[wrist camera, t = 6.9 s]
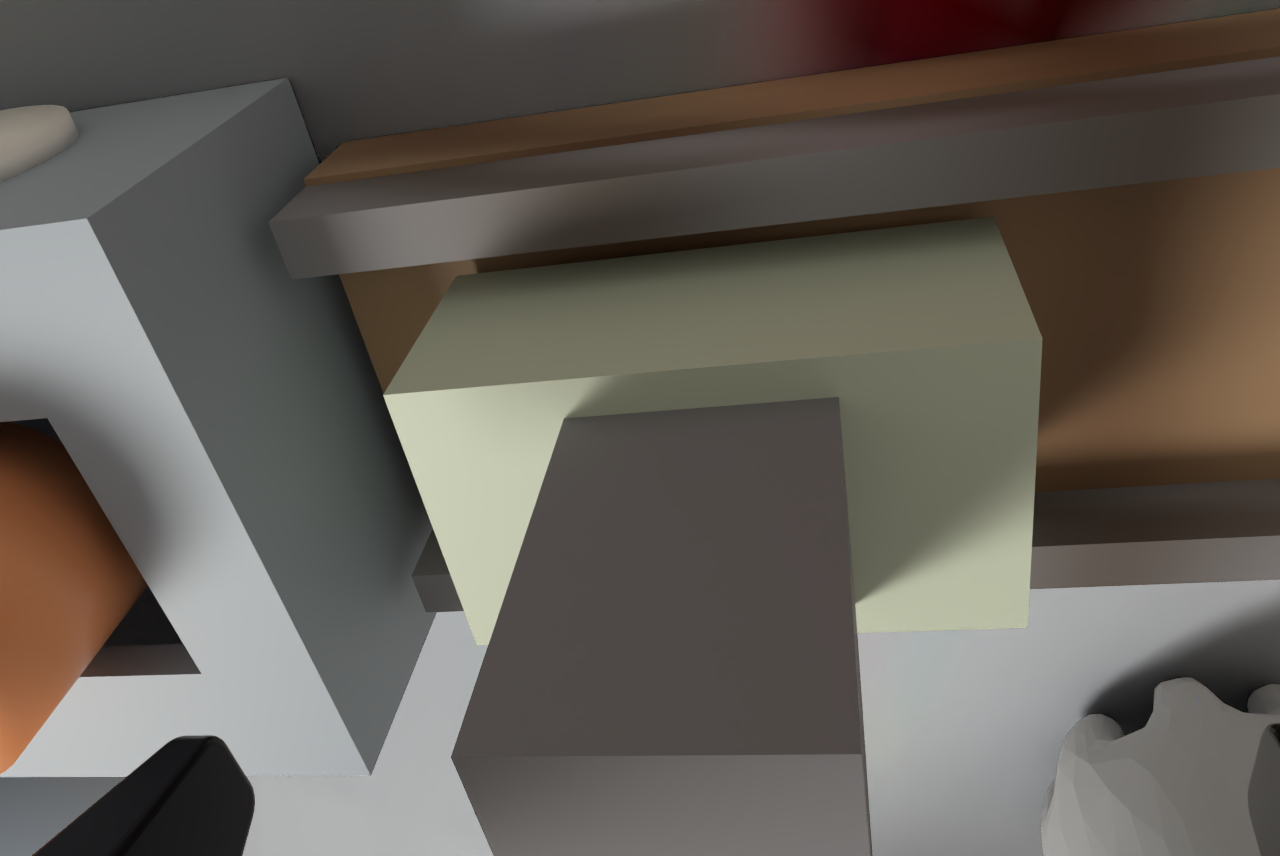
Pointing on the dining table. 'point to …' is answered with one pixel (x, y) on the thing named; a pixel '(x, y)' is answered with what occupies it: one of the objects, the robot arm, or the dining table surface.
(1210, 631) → the dining table surface
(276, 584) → the grey block with hole
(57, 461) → the rounded orange peg
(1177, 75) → the rail
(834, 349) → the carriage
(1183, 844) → the bottle
